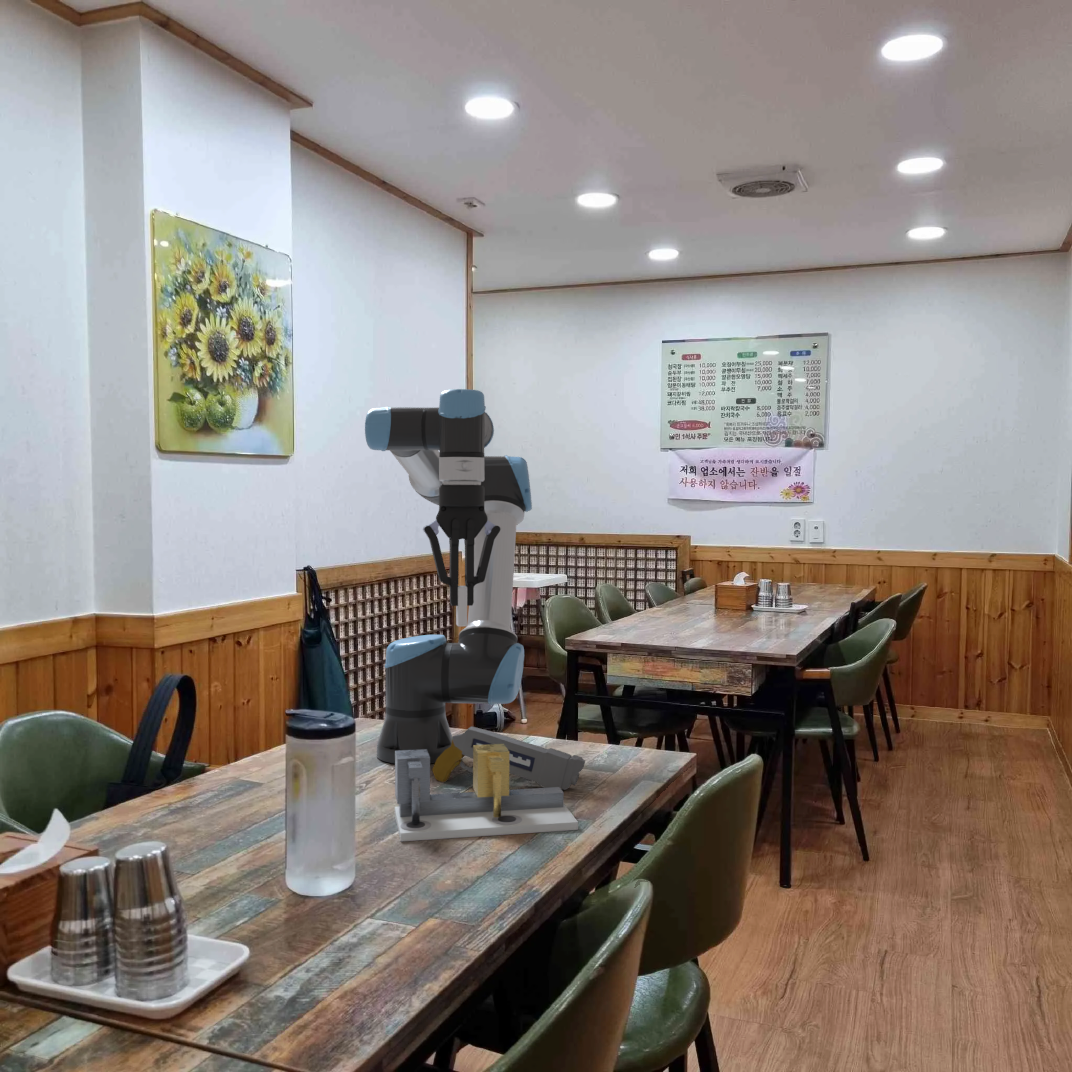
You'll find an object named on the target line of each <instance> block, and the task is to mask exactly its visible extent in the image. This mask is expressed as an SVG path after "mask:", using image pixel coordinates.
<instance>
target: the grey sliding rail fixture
mask: <svg viewBox="0 0 1072 1072" xmlns="http://www.w3.org/2000/svg"><path fill="white" fill-rule="evenodd" d="M394 775H395V776H394V777H395V778H394V780H395V781H394V792H395V793H394V794H395V799H396V804H397V805H398V806H399V814H400V817H411V816H412V823H413V824H418V823H420V816H428V815H444V814H460V813H477V812H493V797H477V795H476V793H475V791H467V792H450V793H431V763H430V756H429V754H428V751H427V749H422V750H401V751H395V763H394ZM564 798H565V796H564V790H563V789H562V790H561V789H560V787H551V788H544V787H537V788H535V787H534V788H521V789H520V788H516V789H509V796H501V811H509V810H526V809H542V808H558V807H563V803H564ZM564 804H565V803H564Z"/></svg>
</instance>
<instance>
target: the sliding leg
mask: <svg viewBox="0 0 1072 1072" xmlns="http://www.w3.org/2000/svg"><path fill="white" fill-rule="evenodd" d="M472 766H473V767H472V768H473V773H472V789H473V790H474V791H473V792H475V793H476V795H477V797H493V817H501V796H509V790H510V773H509V750H508V749H507V748H506V746H505V745H504V744H489V745H473V759H472Z"/></svg>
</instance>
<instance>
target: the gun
mask: <svg viewBox="0 0 1072 1072" xmlns="http://www.w3.org/2000/svg"><path fill="white" fill-rule="evenodd" d="M489 744H504V745H505V746H506V748H507V749H508V750H509V775H510V774H511V775H514V776H516V777H520V778H522V779H525V780H527V781H529V782H534V783H535V784H536V783H537V784H538V786H541V788H551V787H560V789H561V790H562V791H566V790H568V789H569V788H570V786H571V785H572V786H575V785H577V783H578V780H579V777H580V773H581V772H582V771H583V769H584V768H585V765H586V760H584V758H583V757H581V756H579V755H575V754H574V755H572V754H570V753H568V752H564V751H561V750H559V749H555V748H553V747H550V748H546V747H542V746H539V745H535V744H534V743H533V744H532V743H529V742H526V741H523V740H519V739H516V738H513V737H510V736H507V735H504V734H500V733H498V732H497V733H496V732H493V731H491V730H487V729H484V728H483V729H482V728H478V727H475V726H472V725H471V726H470V727H468V728H467V729H466V730H465V731H464V732H463V733H459V734H455V735H452V743H451V747H449V748H447V749H446V750H444V752H443V753H442V754H441V755H440V756H439V757H438V758H437V760H436V762H435V763H433V767H432V769H431V771H432V773H433V775H434V776H433V777H434V779H435V780H436V781H438V782H441V783H445V782H447V781H448V780H449V779H450V776H451V775H452V772H453V771H454V770H455V768H456V767H457V766H459V767H460V768H462V769H463V770H465V771H467V772H470V773H471V774H473V767H470V766H468V765H466V763H465V762H464V761H463V760H462V759H463V758H464V757H468V758H470V759H472V760H473V745H489Z"/></svg>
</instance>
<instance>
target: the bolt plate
mask: <svg viewBox="0 0 1072 1072" xmlns="http://www.w3.org/2000/svg"><path fill="white" fill-rule="evenodd" d="M394 817H395V822H396V826H397V831H398V836H399V840H400V842H412V841H413V842H414V841H426V840H445V839H457V838H459V839H460V838H474V837H487V836H488V837H489V836H504V835H506V836H507V835H517V834H518V835H519V834H531V833H533V834H535V833H547V832H549V833H550V832H551V833H552V832H564V831H577V830H579V821H578V820H577V819H576V818H575V816H574V814H573V813H572V812H571V811H570V809H569V808H568V807H567V806H566V804H565V803H563V807H558V808H542V809H526V810H509V811H501V817H493V812H477V813H460V814H444V815H428V816H420V823H418V824H413V823H412V816H411V817H400V814H399V805H398V806H394Z"/></svg>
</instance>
